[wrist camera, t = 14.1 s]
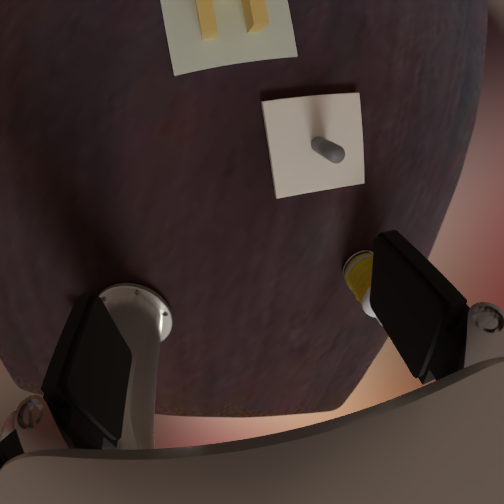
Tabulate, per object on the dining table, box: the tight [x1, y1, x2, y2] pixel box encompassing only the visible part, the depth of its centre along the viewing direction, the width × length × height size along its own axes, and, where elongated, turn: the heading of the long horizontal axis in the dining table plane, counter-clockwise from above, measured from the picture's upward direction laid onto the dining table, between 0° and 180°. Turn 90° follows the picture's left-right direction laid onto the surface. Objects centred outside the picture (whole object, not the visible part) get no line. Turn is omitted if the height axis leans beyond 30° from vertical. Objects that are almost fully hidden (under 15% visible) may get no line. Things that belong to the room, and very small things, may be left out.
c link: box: [195, 0, 269, 40], centre depth 24 cm, size 6×6×5 cm
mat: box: [161, 0, 298, 76], centre depth 26 cm, size 14×14×1 cm
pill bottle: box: [343, 250, 382, 325], centre depth 41 cm, size 6×6×12 cm
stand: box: [261, 93, 364, 198], centre depth 33 cm, size 12×12×6 cm
